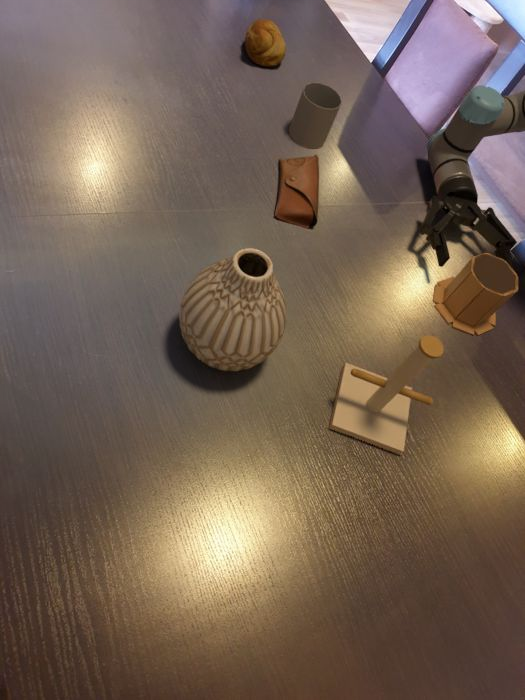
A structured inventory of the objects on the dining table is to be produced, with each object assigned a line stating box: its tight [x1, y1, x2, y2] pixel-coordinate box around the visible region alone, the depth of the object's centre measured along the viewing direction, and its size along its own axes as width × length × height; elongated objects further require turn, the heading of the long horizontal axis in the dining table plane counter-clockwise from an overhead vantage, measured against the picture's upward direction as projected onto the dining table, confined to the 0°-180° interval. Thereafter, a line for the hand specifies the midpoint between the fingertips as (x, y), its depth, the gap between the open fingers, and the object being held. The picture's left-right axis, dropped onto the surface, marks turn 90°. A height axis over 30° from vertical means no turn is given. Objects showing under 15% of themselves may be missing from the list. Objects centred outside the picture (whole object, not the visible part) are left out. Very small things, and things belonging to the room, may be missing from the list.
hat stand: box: [328, 334, 445, 456], centre depth 83 cm, size 13×12×20 cm
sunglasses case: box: [274, 154, 320, 229], centre depth 112 cm, size 18×7×7 cm, turn 177°
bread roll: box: [244, 19, 287, 68], centre depth 133 cm, size 13×10×8 cm
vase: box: [178, 247, 287, 372], centre depth 82 cm, size 16×16×20 cm
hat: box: [432, 252, 519, 336], centre depth 105 cm, size 13×13×10 cm
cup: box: [288, 82, 343, 150], centre depth 120 cm, size 8×8×10 cm
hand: (476, 268), depth 107 cm, fingers open, 13 cm apart
